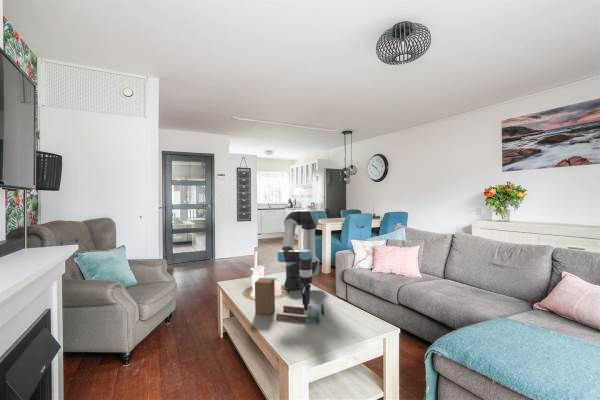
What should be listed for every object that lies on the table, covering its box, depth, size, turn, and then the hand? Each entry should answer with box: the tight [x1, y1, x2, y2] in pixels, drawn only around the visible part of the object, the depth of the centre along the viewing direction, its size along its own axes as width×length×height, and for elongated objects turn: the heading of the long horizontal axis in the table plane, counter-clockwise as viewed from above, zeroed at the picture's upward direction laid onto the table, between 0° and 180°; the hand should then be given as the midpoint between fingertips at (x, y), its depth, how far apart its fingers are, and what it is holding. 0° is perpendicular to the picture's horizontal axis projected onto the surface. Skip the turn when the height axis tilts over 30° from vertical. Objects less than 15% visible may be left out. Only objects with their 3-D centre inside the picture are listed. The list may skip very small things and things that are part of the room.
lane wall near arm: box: [282, 303, 325, 316], centre depth 178 cm, size 1×26×6 cm, turn 73°
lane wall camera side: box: [275, 312, 320, 325], centre depth 166 cm, size 1×26×6 cm, turn 73°
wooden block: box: [254, 277, 276, 316], centre depth 180 cm, size 10×10×20 cm
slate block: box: [306, 303, 322, 322], centre depth 169 cm, size 7×7×7 cm
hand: (306, 314), depth 170 cm, fingers closed
